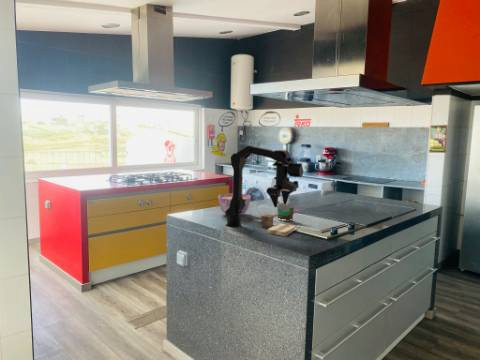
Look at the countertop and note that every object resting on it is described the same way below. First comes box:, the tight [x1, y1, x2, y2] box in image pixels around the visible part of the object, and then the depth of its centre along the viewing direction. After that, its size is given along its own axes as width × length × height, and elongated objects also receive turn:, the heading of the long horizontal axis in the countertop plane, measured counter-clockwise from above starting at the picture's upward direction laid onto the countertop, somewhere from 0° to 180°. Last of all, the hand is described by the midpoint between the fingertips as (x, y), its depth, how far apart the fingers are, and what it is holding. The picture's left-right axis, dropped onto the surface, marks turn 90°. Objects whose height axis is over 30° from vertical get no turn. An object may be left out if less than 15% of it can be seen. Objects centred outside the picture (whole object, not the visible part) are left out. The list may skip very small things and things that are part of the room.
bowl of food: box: [217, 193, 252, 217], centre depth 226 cm, size 20×20×12 cm
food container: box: [276, 200, 296, 220], centre depth 216 cm, size 12×6×10 cm, turn 45°
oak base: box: [266, 223, 296, 237], centre depth 193 cm, size 10×14×2 cm
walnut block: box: [260, 213, 274, 229], centre depth 203 cm, size 5×5×6 cm
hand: (280, 205), depth 188 cm, fingers open, 9 cm apart
